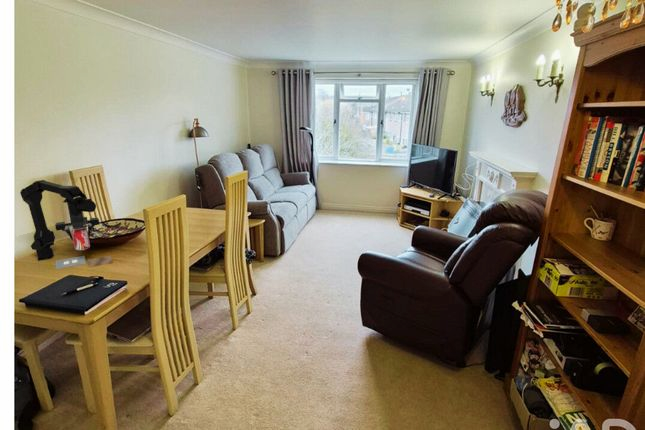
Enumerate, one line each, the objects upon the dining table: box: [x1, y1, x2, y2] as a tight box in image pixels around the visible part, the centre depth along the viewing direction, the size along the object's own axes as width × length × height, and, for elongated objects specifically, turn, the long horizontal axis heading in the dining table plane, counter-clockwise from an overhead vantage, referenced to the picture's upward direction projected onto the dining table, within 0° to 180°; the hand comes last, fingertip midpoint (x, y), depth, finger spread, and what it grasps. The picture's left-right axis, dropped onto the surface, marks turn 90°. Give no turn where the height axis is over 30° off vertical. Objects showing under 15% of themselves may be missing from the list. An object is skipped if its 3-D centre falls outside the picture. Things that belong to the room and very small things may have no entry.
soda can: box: [70, 225, 91, 251], centre depth 182 cm, size 7×7×12 cm
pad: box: [87, 255, 114, 268], centre depth 188 cm, size 11×11×1 cm
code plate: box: [55, 255, 87, 270], centre depth 185 cm, size 13×12×1 cm
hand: (80, 239), depth 183 cm, fingers closed on soda can, 7 cm apart
